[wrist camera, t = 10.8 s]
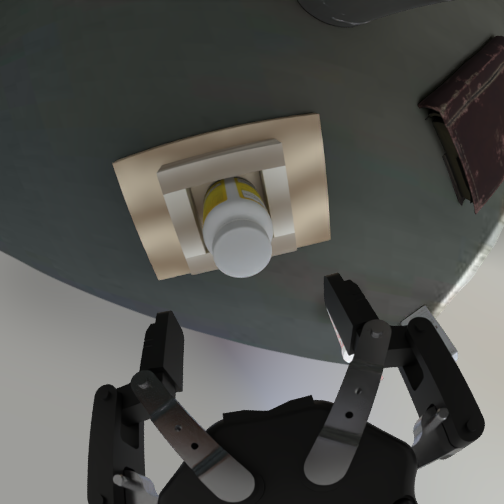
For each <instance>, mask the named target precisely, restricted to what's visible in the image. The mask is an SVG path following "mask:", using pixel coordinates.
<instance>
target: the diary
mask: <svg viewBox="0 0 504 504" xmlns="http://www.w3.org/2000/svg"><path fill="white" fill-rule="evenodd" d="M418 107H419V108H429V109H433V111H432V112H431V113H430V114H429V116H428V117H431V116H434V115H435V116H438V117H437V118H436V119H435V120H434V121H433V125H434V127H435V129H436V131H437V133H438V135H439V138H440V140H441V142H442V145H443V147H444V149H445V152H446V153H445V154H444V155H443V156H442V157H443V160H444V162H445V165H446V167H447V170H448V173H449V175H450V178H451V181H452V184H453V187H454V190H455V192H456V195H457V198H458V200H459V202H460V204H461V205H462V204H463V201H464V200H465V199H468V200H470V203H472V202H473V204H474V209H475V214H477V213H478V211H479V210H480V209H481V208H482V207H483V206H484V204H485V203H486V202H487V201H488V199H489V198H490V197H491V196H492V195H493V193H494V192H495V191H496V190H497V188H498V187H499V186H500V184H501V183H502V182H503V180H504V37H503V36H495V37H494V38H492V39H491V40H490V41H489V42H488V43H487V44H486V45H485V46H484V47H483V48H482V49H481V50H480V51H479V52H478V53H476V54H475V55H474V56H473V57H472V58H470V59H469V60H468V61H467V62H466V63H464V64H463V65H462V66H461V67H460V68H459V69H458V70H457V71H456V72H455V73H454V74H453V75H452V76H451V77H450V78H449V79H448V80H447V81H446V82H444V83H443V84H442V85H441V86H440V87H438V88H437V89H436V90H435V91H434V92H432V93H431V94H430V95H429V96H428V97H426V98H425V99H424V100H423V101H422V102H420V103H419V104H418ZM428 117H427V118H428ZM427 118H426V119H427ZM426 119H425V120H426Z"/></svg>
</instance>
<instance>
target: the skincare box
mask: <svg viewBox="0 0 504 504" xmlns="http://www.w3.org/2000/svg"><path fill="white" fill-rule="evenodd" d="M415 317H424V318H427V319H428V320H430V321H431V322H432V324H433V325H434V327H435V329H436V330H437V332H438V333H439V335H440V337H441V338H442V340H443V342H444V343H445V345H446V347H447V348H448V350H449V352H450V353H451V355H452V357H453V359H454V360H455V361H457V359H458V352H457V350H456V348H455V347H454V345H453V344H452V342H451V341H450V339H449V338H448V336H447V335H446V333H445V332H444V330H443V329H442V328H441V326H440V325H439V323H438V322H437V321H436V319H435V318H434V316H433V315H432V314H431V312H430V311H429V310H428V308H427V307H426V306H425V305H424V306H423V307H421V308H420V309H419V310H417V311H416V312H414V313H413V314H412V315H410V316H409V317H407V318H406V319H405V320H403V321H402V322H401V325H402V326H404V325H408V323H409V321H410V320H411V319H413V318H415Z"/></svg>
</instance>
